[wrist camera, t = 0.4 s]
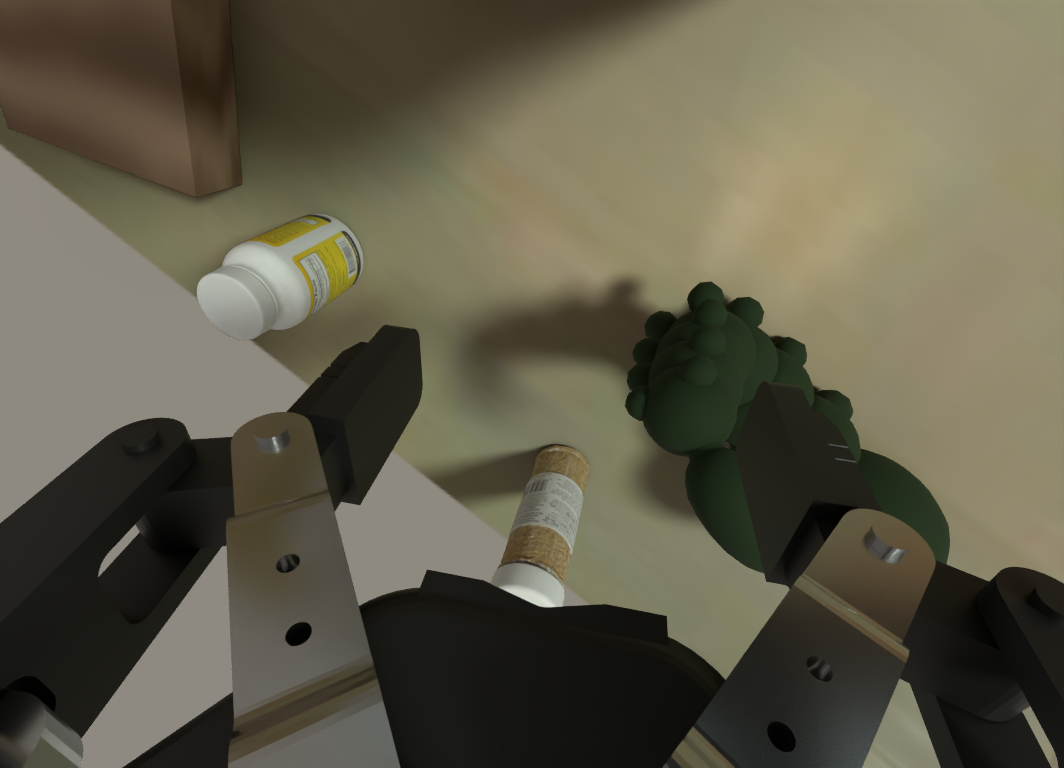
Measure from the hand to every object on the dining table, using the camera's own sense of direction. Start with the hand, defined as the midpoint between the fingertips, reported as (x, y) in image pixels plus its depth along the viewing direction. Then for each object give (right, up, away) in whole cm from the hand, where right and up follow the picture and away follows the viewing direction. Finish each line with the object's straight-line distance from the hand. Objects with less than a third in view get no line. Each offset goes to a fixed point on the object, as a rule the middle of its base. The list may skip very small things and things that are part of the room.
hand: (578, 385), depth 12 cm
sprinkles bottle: (+1, -6, +29) cm, 29 cm away
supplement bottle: (-15, +9, +23) cm, 29 cm away
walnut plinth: (-25, +21, +19) cm, 38 cm away
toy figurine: (+15, -1, +21) cm, 26 cm away
